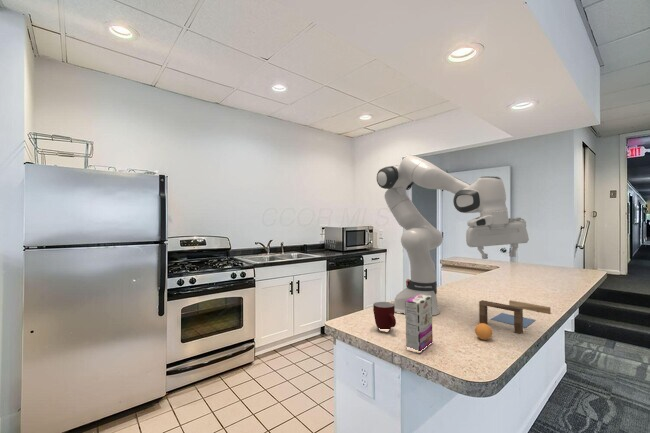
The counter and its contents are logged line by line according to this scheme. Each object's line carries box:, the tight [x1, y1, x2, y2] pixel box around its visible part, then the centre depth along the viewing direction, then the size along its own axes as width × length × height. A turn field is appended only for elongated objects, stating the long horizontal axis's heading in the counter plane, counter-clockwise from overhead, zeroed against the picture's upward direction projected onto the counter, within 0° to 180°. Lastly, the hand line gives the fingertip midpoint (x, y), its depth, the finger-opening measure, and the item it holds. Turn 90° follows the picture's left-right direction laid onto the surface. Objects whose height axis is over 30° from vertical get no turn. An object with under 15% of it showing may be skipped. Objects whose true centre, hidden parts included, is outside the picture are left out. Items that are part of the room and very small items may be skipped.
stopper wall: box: [508, 299, 551, 315], centre depth 141 cm, size 2×16×2 cm, turn 41°
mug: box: [372, 301, 397, 330], centre depth 115 cm, size 10×8×10 cm
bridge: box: [478, 299, 524, 335], centre depth 117 cm, size 3×14×9 cm, turn 41°
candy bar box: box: [404, 294, 434, 351], centre depth 101 cm, size 11×5×16 cm, turn 139°
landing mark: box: [489, 312, 536, 329], centre depth 126 cm, size 13×13×1 cm
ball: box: [474, 323, 493, 341], centre depth 107 cm, size 6×6×6 cm
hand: (498, 257), depth 109 cm, fingers open, 8 cm apart
